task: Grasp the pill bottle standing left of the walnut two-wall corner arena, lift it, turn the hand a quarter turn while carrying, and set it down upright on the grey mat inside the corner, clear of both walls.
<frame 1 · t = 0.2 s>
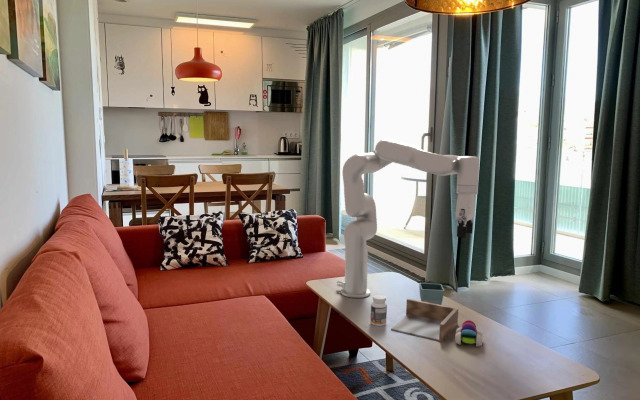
hand: (464, 235, 185), 31 cm above the table, fingers open, 9 cm apart
rainbow petal toy: (468, 343, 163), on the table
pill bottle: (378, 323, 178), on the table
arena: (423, 326, 176), on the table
flower pot: (430, 308, 195), on the table
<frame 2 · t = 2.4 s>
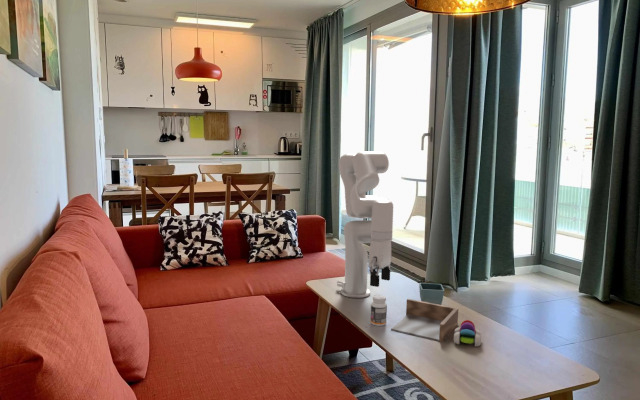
hand: (380, 282, 176), 15 cm above the table, fingers open, 9 cm apart
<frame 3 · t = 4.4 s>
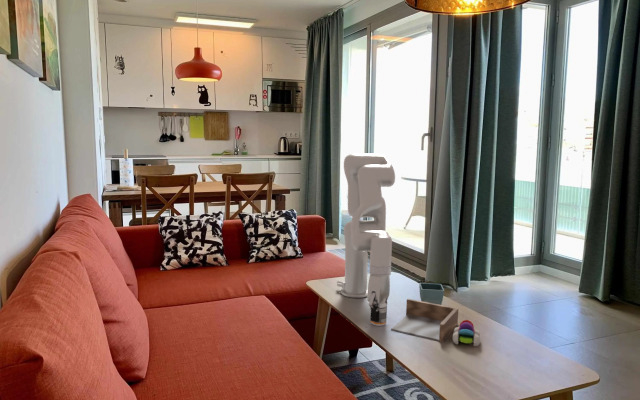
hand: (378, 317, 178), 2 cm above the table, fingers closed on pill bottle, 5 cm apart
pill bottle: (378, 323, 178), on the table, touching gripper
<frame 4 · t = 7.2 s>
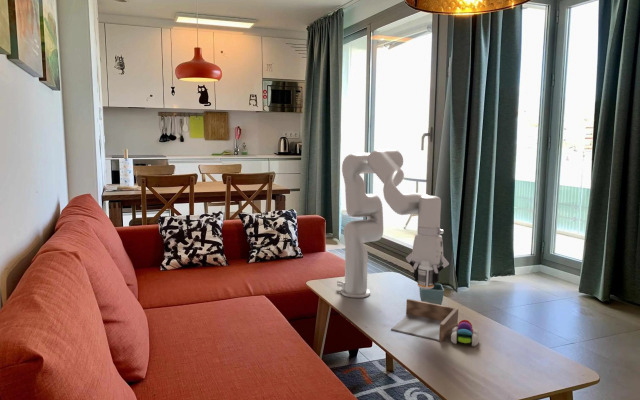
hand: (425, 281, 174), 17 cm above the table, fingers closed on pill bottle, 5 cm apart
pill bottle: (425, 287, 174), point 14 cm above the table, touching gripper
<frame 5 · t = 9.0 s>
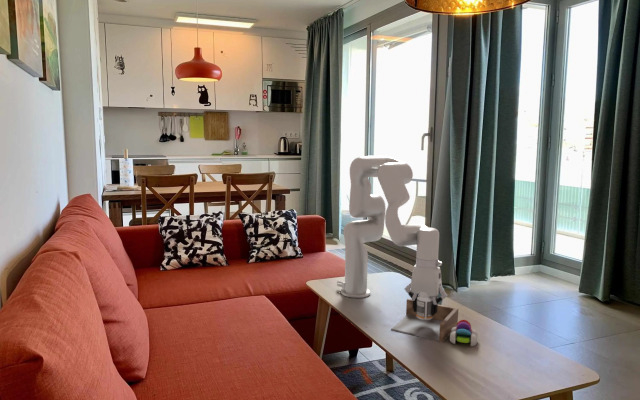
hand: (424, 312, 175), 5 cm above the table, fingers closed on pill bottle, 5 cm apart
pill bottle: (424, 318, 175), point 3 cm above the table, touching gripper
when the fingers open (4 cm above the table, at t = 10.2 s): pill bottle drops 1 cm, resting on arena.
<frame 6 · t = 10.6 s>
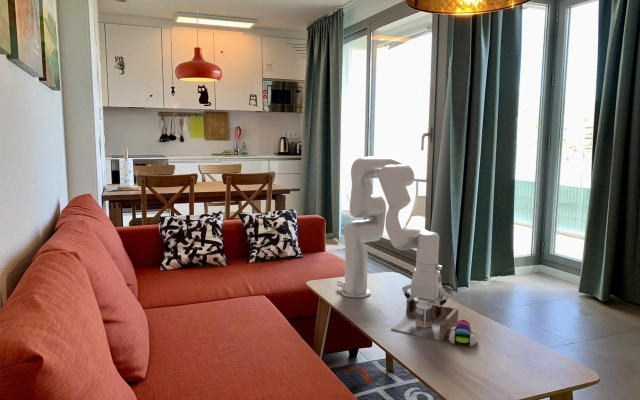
hand: (424, 313, 175), 5 cm above the table, fingers open, 9 cm apart
pill bottle: (423, 325, 176), resting on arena
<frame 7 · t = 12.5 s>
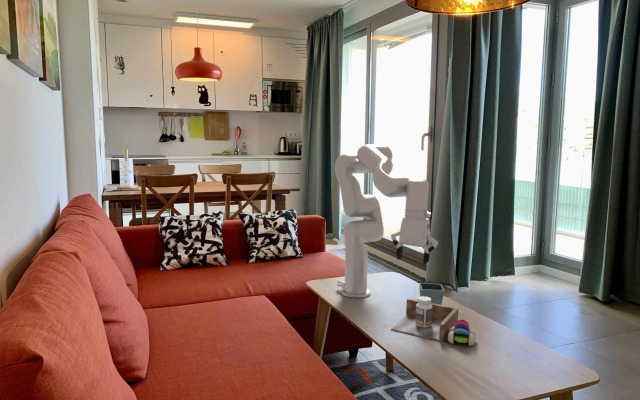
hand: (412, 260, 177), 23 cm above the table, fingers open, 9 cm apart
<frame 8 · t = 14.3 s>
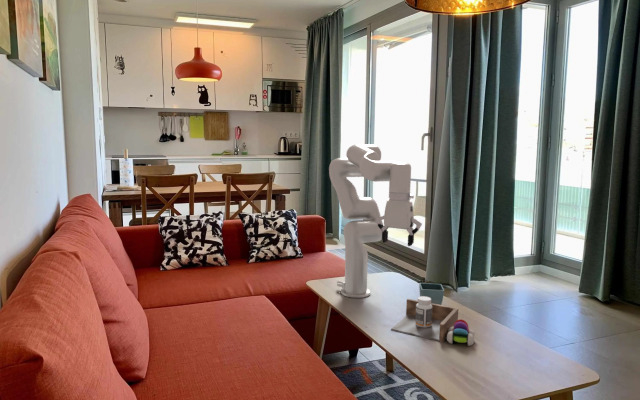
hand: (397, 243, 180), 28 cm above the table, fingers open, 9 cm apart
at the end: pill bottle inside the target area on the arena (1.3 cm from its centre), point 0.3 cm above the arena's base; pill bottle tilted 0°; the gripper is holding nothing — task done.
